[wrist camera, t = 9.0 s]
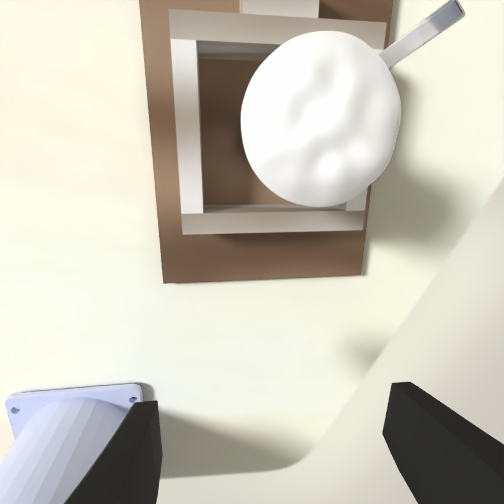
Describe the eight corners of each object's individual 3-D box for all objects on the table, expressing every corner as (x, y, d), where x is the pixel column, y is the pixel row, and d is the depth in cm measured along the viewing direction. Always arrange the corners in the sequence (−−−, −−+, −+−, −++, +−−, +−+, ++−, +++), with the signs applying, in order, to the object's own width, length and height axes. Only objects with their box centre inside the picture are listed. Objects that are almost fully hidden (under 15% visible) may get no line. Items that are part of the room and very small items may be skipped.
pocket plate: (356, 271, 20) (381, 291, 17) (164, 279, 19) (156, 303, 16) (390, -35, 15) (434, -80, 12) (136, -57, 14) (116, -114, 11)
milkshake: (339, 127, 17) (511, 92, 7) (268, 200, 17) (340, 256, 8) (282, 56, 15) (401, -102, 6) (207, 139, 16) (205, 116, 6)
